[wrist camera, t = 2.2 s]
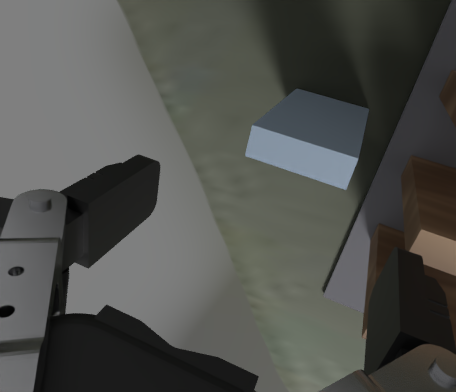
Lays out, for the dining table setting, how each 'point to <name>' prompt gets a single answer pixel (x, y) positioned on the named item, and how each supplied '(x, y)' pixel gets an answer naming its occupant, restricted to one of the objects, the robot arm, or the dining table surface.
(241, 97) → the dining table surface
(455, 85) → the domino
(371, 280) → the domino
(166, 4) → the dining table surface
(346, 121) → the domino
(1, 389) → the robot arm
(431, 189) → the domino
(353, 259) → the felt strip
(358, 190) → the dining table surface
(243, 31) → the dining table surface
